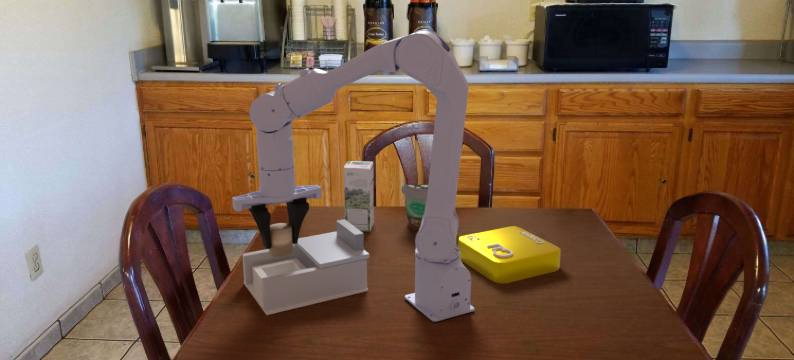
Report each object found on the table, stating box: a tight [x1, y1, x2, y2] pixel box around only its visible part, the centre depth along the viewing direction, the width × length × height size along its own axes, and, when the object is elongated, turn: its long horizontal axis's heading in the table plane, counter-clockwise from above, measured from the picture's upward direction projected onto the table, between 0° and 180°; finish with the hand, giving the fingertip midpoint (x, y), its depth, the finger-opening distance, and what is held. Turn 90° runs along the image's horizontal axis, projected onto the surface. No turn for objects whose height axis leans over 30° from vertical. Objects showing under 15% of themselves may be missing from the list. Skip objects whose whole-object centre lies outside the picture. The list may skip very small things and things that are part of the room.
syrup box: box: [343, 160, 375, 233], centre depth 137 cm, size 6×6×14 cm
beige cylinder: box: [269, 222, 293, 257], centre depth 106 cm, size 4×4×4 cm
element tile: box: [457, 225, 562, 284], centre depth 121 cm, size 15×15×5 cm
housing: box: [241, 244, 369, 316], centre depth 110 cm, size 13×18×6 cm
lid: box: [295, 218, 370, 269], centre depth 111 cm, size 12×9×4 cm
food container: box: [400, 179, 458, 233], centre depth 136 cm, size 12×6×10 cm, turn 73°
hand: (280, 244), depth 106 cm, fingers closed on beige cylinder, 4 cm apart
